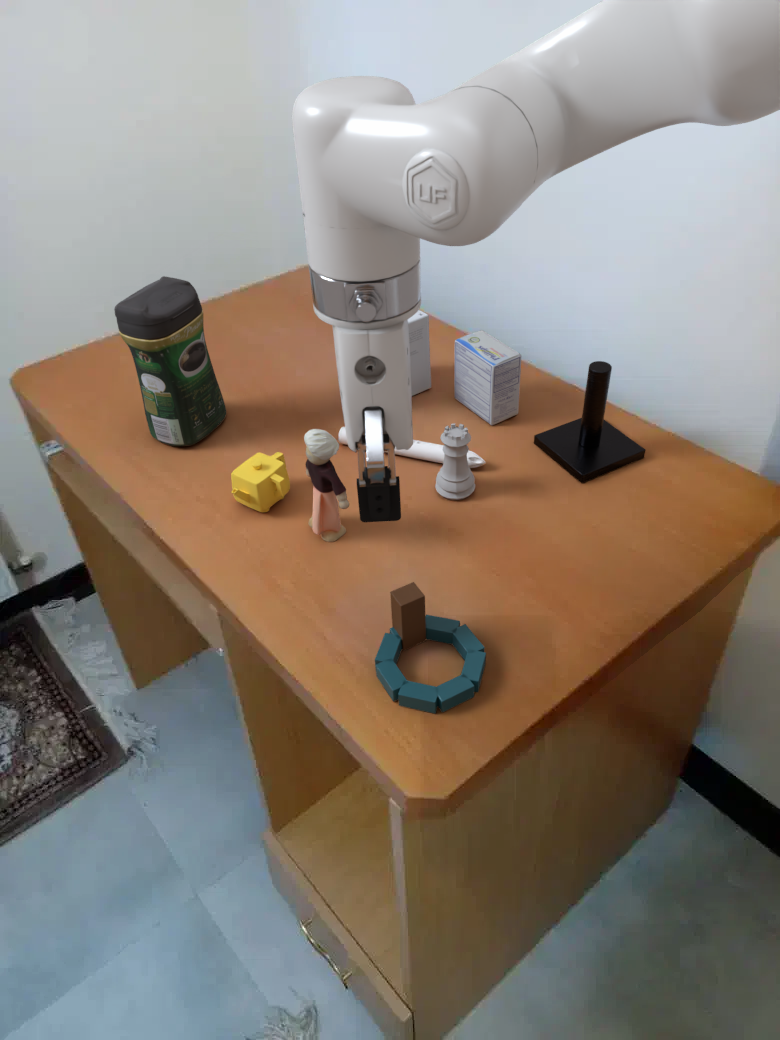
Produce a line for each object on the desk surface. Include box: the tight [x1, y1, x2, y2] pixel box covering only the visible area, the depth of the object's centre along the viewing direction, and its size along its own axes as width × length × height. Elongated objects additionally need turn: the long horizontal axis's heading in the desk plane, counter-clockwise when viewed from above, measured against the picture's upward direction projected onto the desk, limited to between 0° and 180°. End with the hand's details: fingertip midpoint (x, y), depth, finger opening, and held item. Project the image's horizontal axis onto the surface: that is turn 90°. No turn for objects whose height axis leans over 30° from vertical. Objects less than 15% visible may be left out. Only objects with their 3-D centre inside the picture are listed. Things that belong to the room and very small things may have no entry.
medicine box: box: [453, 329, 522, 426], centre depth 97 cm, size 8×4×9 cm, turn 32°
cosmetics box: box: [408, 309, 432, 397], centre depth 101 cm, size 10×6×10 cm, turn 125°
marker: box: [337, 426, 487, 469], centre depth 92 cm, size 18×2×2 cm, turn 69°
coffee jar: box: [113, 275, 227, 447], centre depth 94 cm, size 10×8×19 cm
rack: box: [533, 360, 646, 484], centre depth 89 cm, size 9×9×11 cm
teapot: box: [230, 451, 291, 513], centre depth 86 cm, size 8×6×5 cm
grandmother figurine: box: [303, 428, 350, 543], centre depth 80 cm, size 8×4×13 cm, turn 45°
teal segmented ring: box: [374, 581, 487, 714], centre depth 68 cm, size 9×9×6 cm
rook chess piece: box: [434, 422, 476, 501], centre depth 85 cm, size 4×4×8 cm
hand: (379, 480), depth 65 cm, fingers open, 9 cm apart
